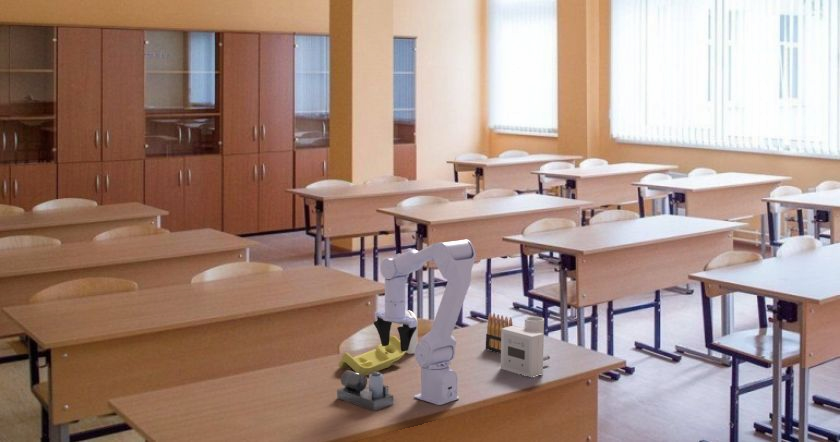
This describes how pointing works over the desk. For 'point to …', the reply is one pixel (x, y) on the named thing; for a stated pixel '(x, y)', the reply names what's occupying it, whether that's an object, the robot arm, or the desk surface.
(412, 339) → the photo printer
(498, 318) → the ammunition clip
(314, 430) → the desk surface
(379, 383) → the grey capped cylinder
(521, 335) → the thermostat
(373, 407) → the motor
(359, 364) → the plastic component
